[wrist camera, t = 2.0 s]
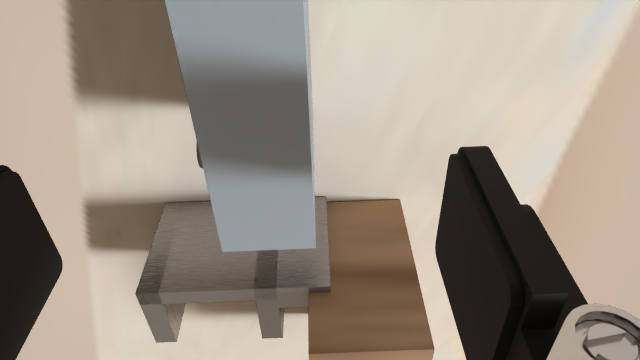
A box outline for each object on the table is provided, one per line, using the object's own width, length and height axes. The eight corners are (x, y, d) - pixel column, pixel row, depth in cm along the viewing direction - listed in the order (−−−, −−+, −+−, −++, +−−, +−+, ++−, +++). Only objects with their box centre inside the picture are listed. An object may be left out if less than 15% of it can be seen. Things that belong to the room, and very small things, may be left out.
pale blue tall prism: (181, -151, 16) (88, -105, 9) (300, -156, 16) (297, -112, 9) (226, 108, 23) (191, 252, 16) (312, 105, 23) (315, 248, 16)
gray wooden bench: (165, 202, 26) (135, 293, 21) (325, 196, 26) (330, 286, 21) (180, 251, 28) (156, 342, 24) (327, 245, 28) (331, 335, 24)
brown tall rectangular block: (307, 203, 26) (308, 354, 19) (399, 199, 26) (434, 349, 19) (314, 314, 33) (317, 458, 26) (388, 311, 33) (411, 454, 26)
